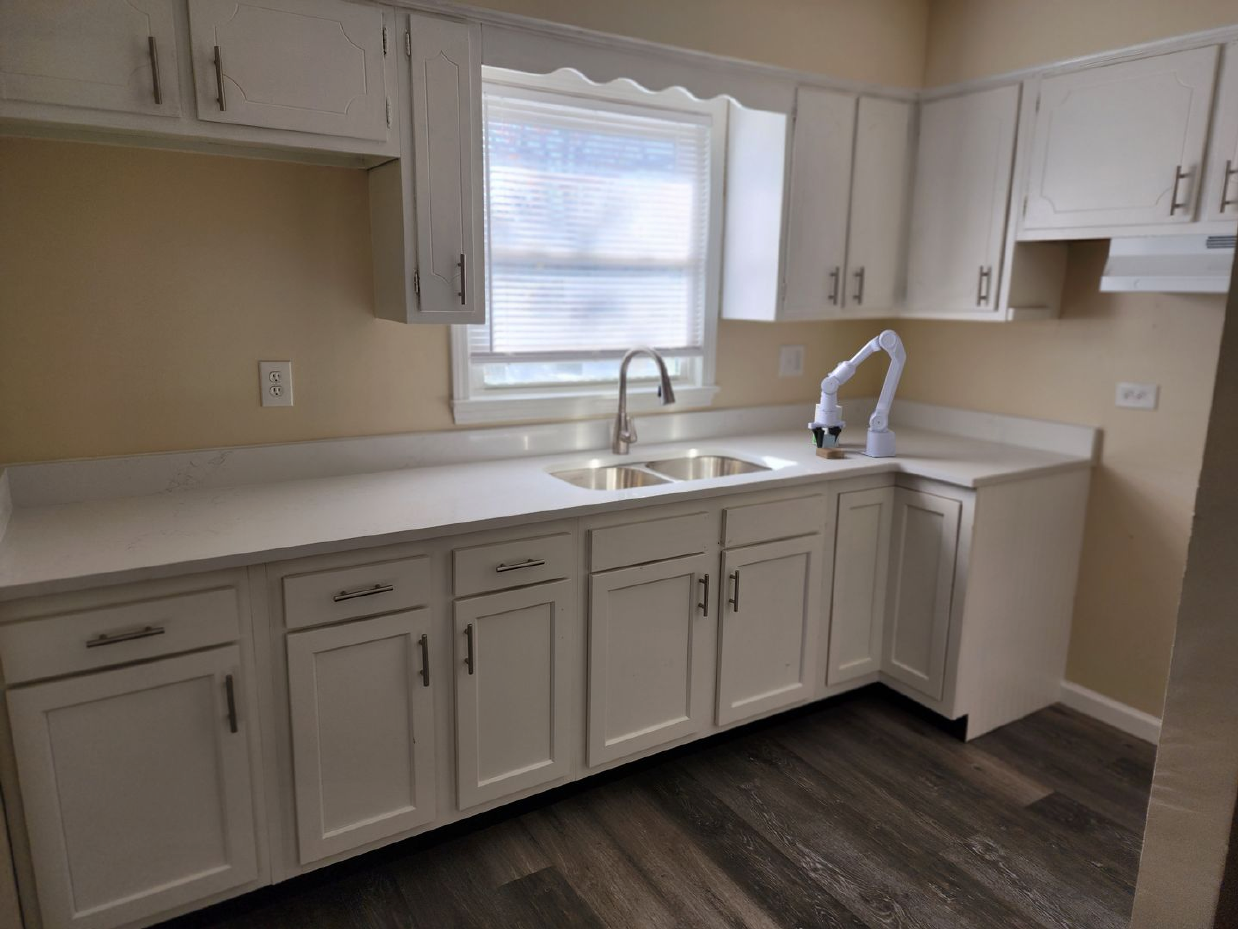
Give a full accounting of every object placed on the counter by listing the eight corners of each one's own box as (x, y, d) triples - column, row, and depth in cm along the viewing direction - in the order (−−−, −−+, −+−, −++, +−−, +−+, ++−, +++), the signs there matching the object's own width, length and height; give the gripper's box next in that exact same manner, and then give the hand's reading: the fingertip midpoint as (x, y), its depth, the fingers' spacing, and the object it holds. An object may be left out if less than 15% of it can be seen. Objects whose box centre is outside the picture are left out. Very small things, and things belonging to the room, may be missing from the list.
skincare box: (811, 444, 310) (814, 403, 307) (825, 443, 313) (828, 402, 310) (826, 448, 303) (829, 406, 300) (840, 447, 306) (843, 405, 302)
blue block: (826, 449, 299) (828, 433, 298) (834, 452, 295) (835, 435, 294) (816, 450, 298) (817, 434, 297) (823, 452, 294) (824, 436, 292)
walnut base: (832, 455, 291) (833, 447, 291) (844, 459, 285) (844, 450, 284) (815, 456, 289) (816, 447, 288) (826, 460, 283) (827, 451, 282)
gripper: (838, 408, 299) (836, 444, 302) (804, 409, 295) (802, 446, 297) (850, 410, 293) (847, 448, 296) (815, 412, 288) (812, 449, 291)
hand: (825, 447), depth 296 cm, fingers closed on blue block, 4 cm apart
